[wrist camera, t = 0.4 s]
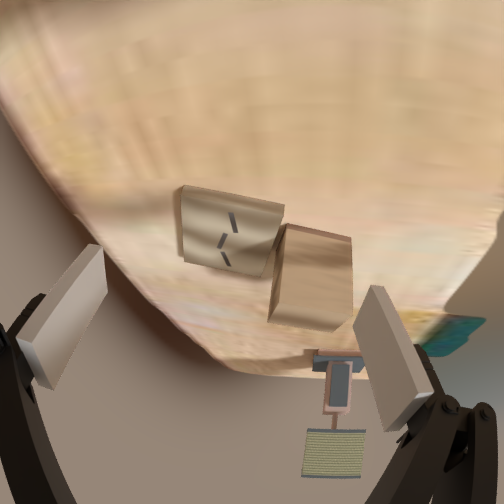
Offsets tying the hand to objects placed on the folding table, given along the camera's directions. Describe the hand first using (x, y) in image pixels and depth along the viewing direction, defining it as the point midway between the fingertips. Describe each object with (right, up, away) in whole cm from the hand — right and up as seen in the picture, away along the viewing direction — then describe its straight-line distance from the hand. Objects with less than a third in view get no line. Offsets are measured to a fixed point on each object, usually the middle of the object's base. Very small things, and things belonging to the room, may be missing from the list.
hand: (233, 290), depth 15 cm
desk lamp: (+24, -26, +65) cm, 74 cm away
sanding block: (+8, +3, +24) cm, 26 cm away
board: (-2, +4, +24) cm, 25 cm away
